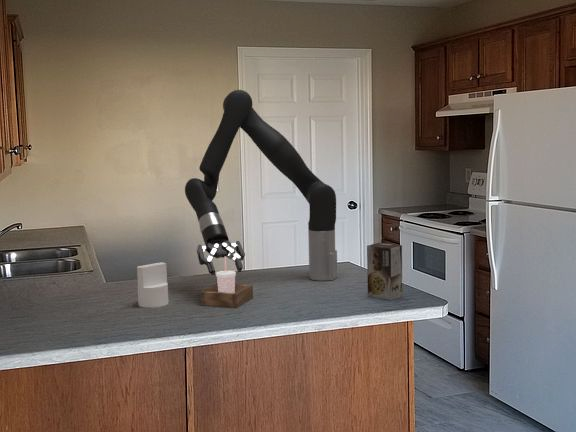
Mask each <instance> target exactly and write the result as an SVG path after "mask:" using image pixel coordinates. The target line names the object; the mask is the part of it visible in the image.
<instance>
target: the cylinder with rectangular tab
mask: <svg viewBox="0 0 576 432" xmlns="http://www.w3.org/2000/svg"><path fill="white" fill-rule="evenodd" d="M136 272H137V273H136V274H137V300H138V302H137V304H138V306H139V307H141V308H159V307H164V306H166V305H168V304H169V284H168V275H167V273H168V269H167V263H166V262H161V261H160V262H156V263H155V262H154V263H150V264H144V265H143V264H142V265H139V266H136Z"/></svg>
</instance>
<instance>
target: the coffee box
mask: <svg viewBox="0 0 576 432" xmlns="http://www.w3.org/2000/svg"><path fill="white" fill-rule="evenodd" d="M366 265H367V267H366V268H367V272H366V273H367V297H370V298H376V299H382V300H387V301H393V300H396V299H399V298H403V245H402V244H396V243H395V244H393V243H385V242H375V243H372V244H370V245H367V246H366Z"/></svg>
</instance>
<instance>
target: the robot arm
mask: <svg viewBox="0 0 576 432" xmlns="http://www.w3.org/2000/svg"><path fill="white" fill-rule="evenodd" d="M222 108H223V113H222V118H221V119H220V123H219V126H218V127H217V129H216V132H215V134H214V135H213V137H212V139H211V141H210V143H209V144H208V147H207V149H206V151H205V153H204V155H203V157H202V160H201V162H200V166H199V171H200V172H201V173H202V174H203V177H204V178H203V180H202V179H200V178H197V177H194V178H190V179H189V180H188V181H187V182H186V183H185V187H184V194H185V197H186V199H187V201H188V203H189V204H190V206H191V208H192V209H193V211H194V212H195V214H196V217H197V221H198V223H199V229H200V233H201V236H202V239H203V243H204V245H202V244H198V245H197V247H196V248H197V249H196V253H197V259H198V263H199V264H200V265H201V266H202V265H205V266H206V268H207V271H208V274H211V276H215V275H216V269H215V266H214V263H213V259H214V258H216V259H220V258H224V259H225V257H224V256H226V259H228V260H231V261H233V262H234V266H235V267H236V271H237V273H241V272H242V271H243V268H244V267H243V266H244V265H243V263H242V261H243V260H244V259H245V256H246V253H245V251H244V248H243V246H242V244H241V241H239V240H237V241H236V242H233V243H232V242H231V241H230V240H229V236H228V233H227V230H226V228H225V225H224V224H225V223H224V222H223V219H222V218H221V216H220V212H219V209H218V207H217V204H216V203H215V202H214V201H213V200H214V199H215V198H216V195H217V193H218V185H219V180H220V179H219V178H220V173H221V171H222V169H223V166H224V164H225V162H226V160H227V157H228V154H229V152H230V149H231V147H232V145H233V142H234V139H235V137H236V135H237V133H238V131H239V129H241V130H242V131H244V133H246V135H247V136H248V137H249V138H250V139H251V141H252V142H253V144H255V146H256V147H257V148H258V150H260V152H261V153H262V154H263V155H264V156H265V158H267V160H268V161H269V162H270V163H271V164H272V165H273V166H274V167H275V168H276V169H277V170H278V171H279V172H280V173H281V174H282V175H283V176H285V177H286V178H287V179H288V180H289V181H290V182H292V183H293V184H294V185H295V187H296V188H297V189H298V190H299V192H300V193H301V194H302V196H303V197H304V198H305V200H306V201H307V203H308V204H309V216H308V217H309V218H308V222H307V223H308V231H307V232H308V233H307V234H308V275H309V280H313V281H319V282H320V281H334V280H335V279H337V277H338V250H337V249H336V222H337V195H336V191H335V190H334V189H333V187H332V186H330V185H329V184H326V183H325V182H323V181H322V180H321V179H320V178H319V177H317V176H316V175H315V173H313V171H311V170H310V168H309V167H308V166H307V164H306V163H305V161H304V160H303V158H302V156H301V155H300V153H299V152H298V151H297V149H296V148H295V147H294V146H293V145H292V143H290V141H289V140H288V139H287V138H286V137H285V136H284V135H283V134H282V133H281V132H279V131H278V130H277V129H275V127H272V126H271V125H270V124H269V123H267V121H265V120H263V118H262V117H261V116H260V115H259V114H258V112H257V111H256V110H255V109H254V107H253V98H252V97H251V95H250V94H249V93H248V92H247V91H246V90H242V89H235V90H233V91H231V92H229V93H228V94H227V95H226V96H225V98H224V99H223V103H222ZM205 252H207V253H208V254H209V255H208V257H207V258H206V257H205V254H204V253H205Z"/></svg>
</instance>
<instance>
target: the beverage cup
mask: <svg viewBox="0 0 576 432" xmlns="http://www.w3.org/2000/svg"><path fill="white" fill-rule="evenodd" d="M224 257H225V258H224V270H220V271H215V276H216V279H217V280H216V281H217V283H218V292H226V293H235V284H236V276H237V274H236V273H237V272H236V271H235V270H227V269H228V268H227V257H226V256H224ZM217 283H216V284H217Z"/></svg>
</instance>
